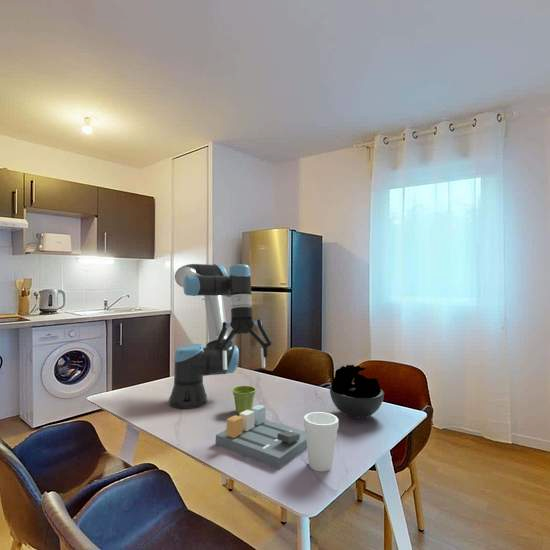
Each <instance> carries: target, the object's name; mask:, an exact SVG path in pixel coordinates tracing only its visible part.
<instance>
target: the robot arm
mask: <svg viewBox="0 0 550 550" xmlns="http://www.w3.org/2000/svg"><path fill="white" fill-rule="evenodd" d="M228 274H229V275H228ZM251 276H252V274H251V268H250V266H249V264H248V265H247V264H245V263H243V264H241V263H239V264H233V265H230V267H229V272H227V270H226V268H225V267H224V266H223V265H222V264H217V263H216V264H215V263H214V264H207V263H206V264H202V263H201V264H200V263H189V264H184V265H183V266H181V267H179V268H178V269H177V270H176V272H175V275H174V279H175V283H176V284H177V285H178V286H179V287H181V288H182V289H183V293H184V295H185V296H189V297H190V296H191V297H196V296H199V297H200V296H203V298H204V305H205V316H206V317H205V318H206V325H207V332H208V333H207V334H208V341H207V342H206V343H205V346H204V345H203V344H202V343H196V344H195V343H194V344H193V343H192V344H186V345H183V346H179V347H178V348H177V349H175V352H174V358H173V359H174V360H173V362H174V365H173V366H174V368H173V369H174V370H173V371H174V374H173V375H174V377H173V387H172V390H171V393H170V396H169V400H168V401H169V403H168V404H169V406H170V407H172V408H176V409H194V408H195V409H196V408H198V407H202V406H204V405H205V404H207V401H208V400H207V399H208V395H207V393H206V390H205V386H204V377H205V376H206V377H207V376H217V375H218V376H219V375H226V374H227V375H228V374H233V373H234V372H236V370H237V369H238V364H239V357H240V355H239V354H240V353H239V352H240V351H239V348H238V345H235V344H234V345H233V339H234V337H235V336H236V335H241V334H245V335H247V334H248V333H249V334H250V335H251V336H252V337H253V338H254V339H255V340H256V341H257V342H258V343H259V345H261V347H262V348H261V347H260V357H261V359H260V360H261V368H263V369H265V368H266V358H268V348H269V347H271V346H272V345H273V342H272V341H271V339H270V337H269V335H268V333H267V331H266V329H265V328H264V325H263V321H262V320H261V319H257V320H254V319H253V318H254V317H253V316H254V315H253V308H252V306H253V302H252V301H253V300H252V279H251ZM224 297H226V298H230V307H231V309H230V316H231V317H230V319H231V321H230V322H227V319H226V310H225V304H224ZM254 325H255V326H256V327H258V329H259V331H260V333H261V335H262V337H263V338H264V339H262V337H260V335H258V333H256V331H255V329H253V327H254ZM230 327H231V328H232V330H231V331H230V333H228V329H229V328H230ZM264 340H265V341H264Z"/></svg>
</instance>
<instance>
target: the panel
mask: <svg viewBox="0 0 550 550" xmlns="http://www.w3.org/2000/svg"><path fill="white" fill-rule="evenodd" d="M226 430H227V429H226ZM226 430H223V431H221V432H219V433H217V434H215V445H216V446H218V447H221V448H224V449H226V450H229V451H231V452H234V453H237V454H239V455H242V456H244V457H247V458H249V459H252V460H255V461H258V462H260V463H262V464H265V465H268V466H270V467H273V468H276V469H278V470H280V469H282V468H283V467H284V466H285V465H287V464H288V463H290V462H292V460H293V459H295V458H297V457H298V456H299V455H300V454H301V453H303V452H304V451H306V450H307V442H306V433H305V430H302V429H298V428H295V427H292V426H288V425H285V424H281V423H278V422H274V421H272V420H267V419H265V422H263V423H261V424H259V425H256V424H254V428H252V429H250V430H248V431H244V430H242V434H240V435H239V436H237V437H235V438H232V437H229V436H227V435H226ZM286 431H290V432H294V433H297V434H300V437H299V440H297V441H294V442H290V443H287V442H284V441H281V440H278V439H277V436H278V433H282V432H286Z"/></svg>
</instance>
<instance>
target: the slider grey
mask: <svg viewBox="0 0 550 550" xmlns="http://www.w3.org/2000/svg"><path fill="white" fill-rule="evenodd" d="M266 408H267V407H266V405H265V406H264V405H261V404H256V405H255V406H252V408H251V411H254V412H255V419H254V424H256V425H259V424H261V423H263V422H265V420H266V412H267V410H266Z"/></svg>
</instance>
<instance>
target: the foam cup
mask: <svg viewBox="0 0 550 550" xmlns="http://www.w3.org/2000/svg"><path fill="white" fill-rule="evenodd" d="M303 426H304V431H305V433H306V442H307V449H306V450H307V457H308V458H307V459H308V465H309V467H310V469H312V470H314V471H316V472H327V471H330V470H332V467H333V463H334V458H335V457H334V456H335V449H336V442H337V435H338V430H339V418H338V417H337V415H334V414H332V413H330V412H321V411H314V412H309V413H307V414H306V413H305V415H304V416H303Z"/></svg>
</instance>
